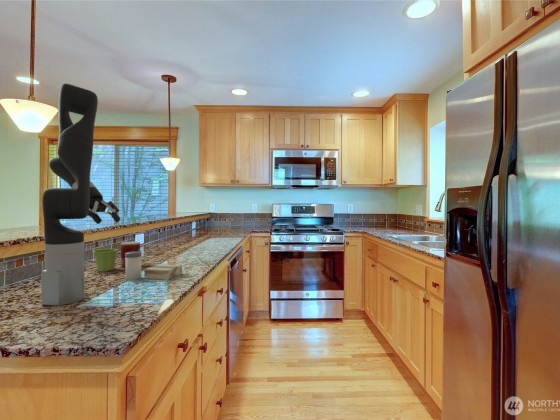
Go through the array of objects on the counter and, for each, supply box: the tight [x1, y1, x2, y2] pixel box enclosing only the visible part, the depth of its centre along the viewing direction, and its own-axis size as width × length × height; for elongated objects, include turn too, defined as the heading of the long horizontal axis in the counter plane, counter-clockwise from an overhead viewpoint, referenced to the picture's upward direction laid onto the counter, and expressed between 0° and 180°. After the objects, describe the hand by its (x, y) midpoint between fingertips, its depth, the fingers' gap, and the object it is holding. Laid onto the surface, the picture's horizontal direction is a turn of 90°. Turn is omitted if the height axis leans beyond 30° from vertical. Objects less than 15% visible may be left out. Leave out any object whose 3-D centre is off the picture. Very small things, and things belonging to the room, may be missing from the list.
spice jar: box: [124, 251, 142, 281], centre depth 108 cm, size 6×6×10 cm
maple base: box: [143, 263, 183, 281], centre depth 113 cm, size 10×10×4 cm
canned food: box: [120, 241, 141, 269], centre depth 129 cm, size 8×8×11 cm
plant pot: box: [91, 248, 119, 273], centre depth 121 cm, size 9×9×9 cm
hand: (109, 221), depth 111 cm, fingers open, 8 cm apart
